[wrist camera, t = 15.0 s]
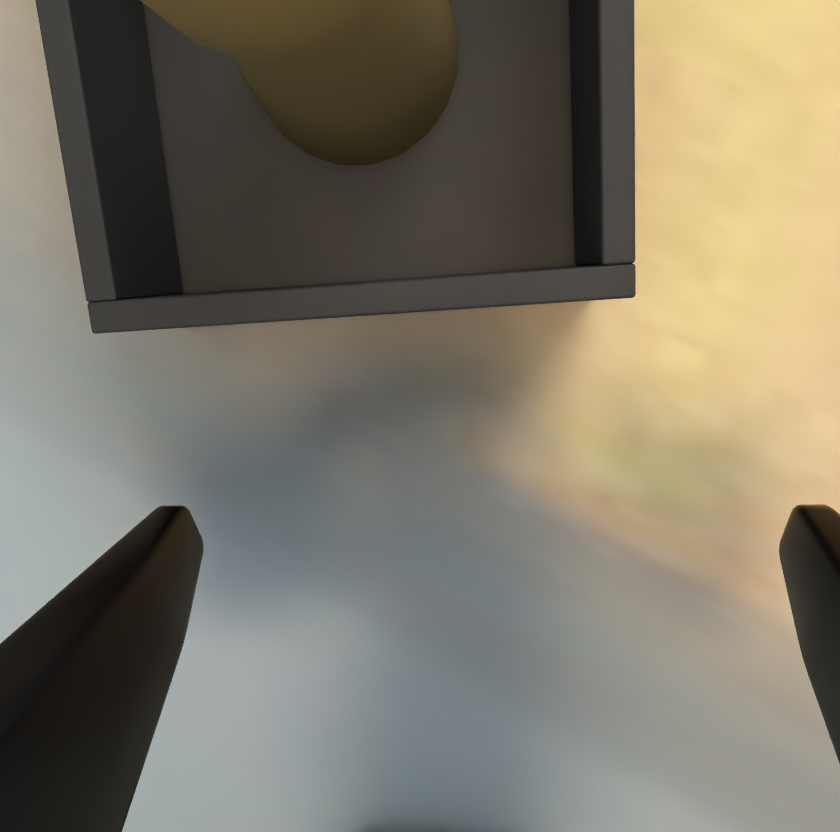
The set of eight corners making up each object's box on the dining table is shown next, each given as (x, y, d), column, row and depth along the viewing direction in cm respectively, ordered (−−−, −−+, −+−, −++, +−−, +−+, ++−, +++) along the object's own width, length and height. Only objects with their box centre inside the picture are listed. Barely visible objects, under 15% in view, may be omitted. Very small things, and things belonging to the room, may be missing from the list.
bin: (598, 290, 21) (636, 297, 16) (171, 319, 22) (91, 334, 17) (590, -273, 18) (633, -464, 13) (94, -207, 19) (-27, -361, 14)
